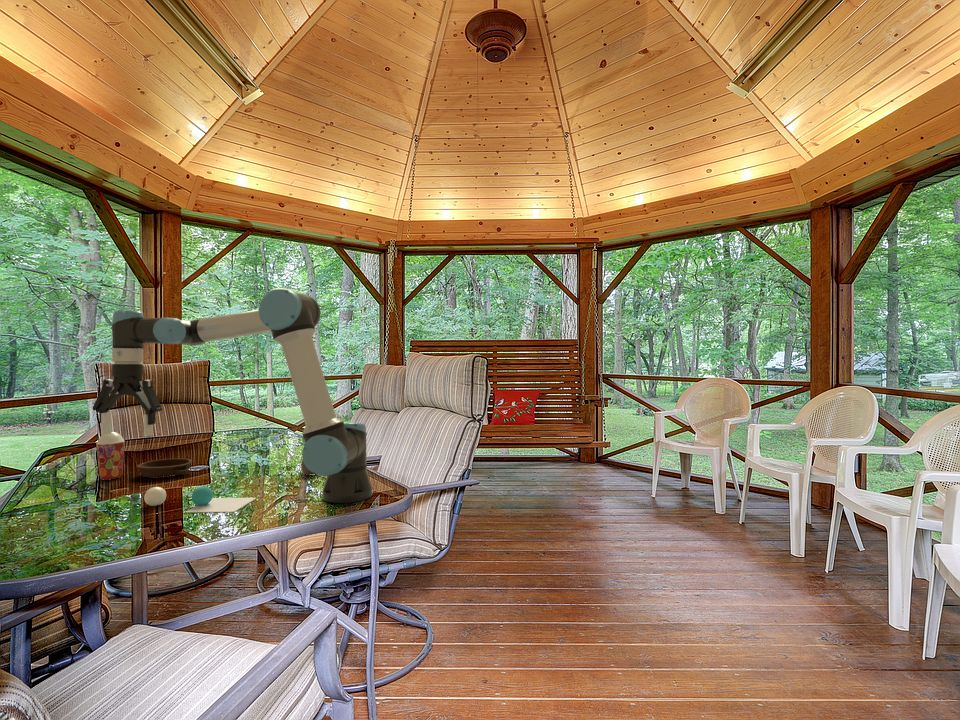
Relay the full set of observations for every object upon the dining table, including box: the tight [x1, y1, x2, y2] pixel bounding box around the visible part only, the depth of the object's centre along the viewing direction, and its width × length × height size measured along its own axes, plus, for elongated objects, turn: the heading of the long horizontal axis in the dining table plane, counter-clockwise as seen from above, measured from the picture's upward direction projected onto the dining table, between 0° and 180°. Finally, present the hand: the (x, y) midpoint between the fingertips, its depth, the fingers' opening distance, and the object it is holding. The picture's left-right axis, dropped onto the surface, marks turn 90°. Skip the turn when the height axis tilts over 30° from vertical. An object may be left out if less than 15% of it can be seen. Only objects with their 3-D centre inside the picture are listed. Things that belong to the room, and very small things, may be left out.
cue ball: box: [143, 486, 167, 507], centre depth 146 cm, size 6×6×6 cm
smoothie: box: [96, 423, 125, 480], centre depth 180 cm, size 8×8×20 cm
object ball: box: [191, 486, 214, 506], centre depth 146 cm, size 6×6×6 cm
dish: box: [136, 457, 193, 478], centre depth 186 cm, size 18×22×5 cm
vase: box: [300, 459, 315, 475], centre depth 184 cm, size 7×7×9 cm
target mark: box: [184, 497, 258, 514], centre depth 146 cm, size 14×14×1 cm
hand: (127, 435), depth 145 cm, fingers open, 13 cm apart
